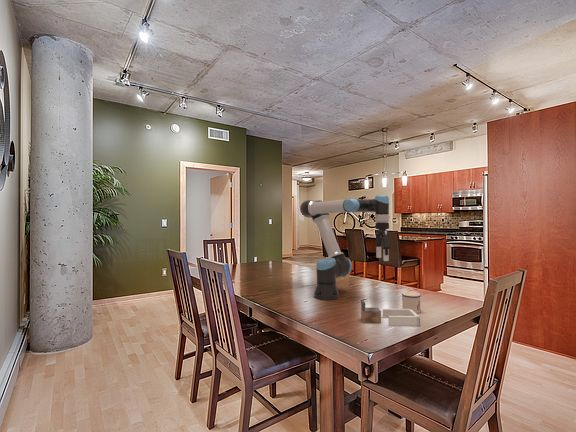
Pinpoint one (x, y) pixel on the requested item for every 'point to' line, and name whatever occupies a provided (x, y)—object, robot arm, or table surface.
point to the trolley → (370, 314)
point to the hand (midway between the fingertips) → (382, 259)
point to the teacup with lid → (411, 300)
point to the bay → (401, 317)
